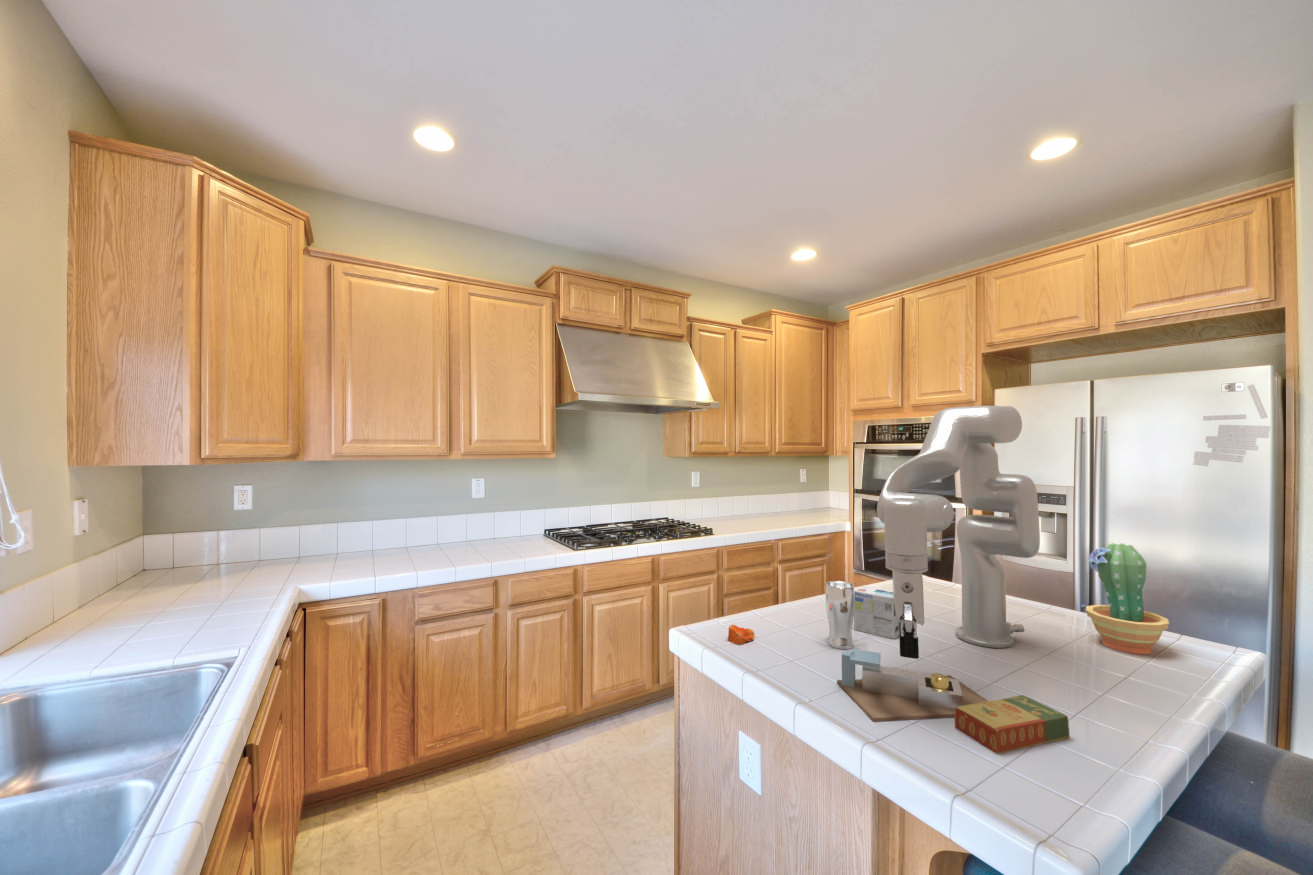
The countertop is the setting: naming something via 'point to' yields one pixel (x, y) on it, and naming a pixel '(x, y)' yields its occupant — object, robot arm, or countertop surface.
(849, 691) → the board
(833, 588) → the beer glass
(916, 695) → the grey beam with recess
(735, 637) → the rock
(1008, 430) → the robot arm
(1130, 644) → the potted cactus
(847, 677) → the bracket
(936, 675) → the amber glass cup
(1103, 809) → the countertop surface
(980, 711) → the carton
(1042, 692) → the countertop surface
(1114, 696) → the countertop surface
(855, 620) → the light bulb box
